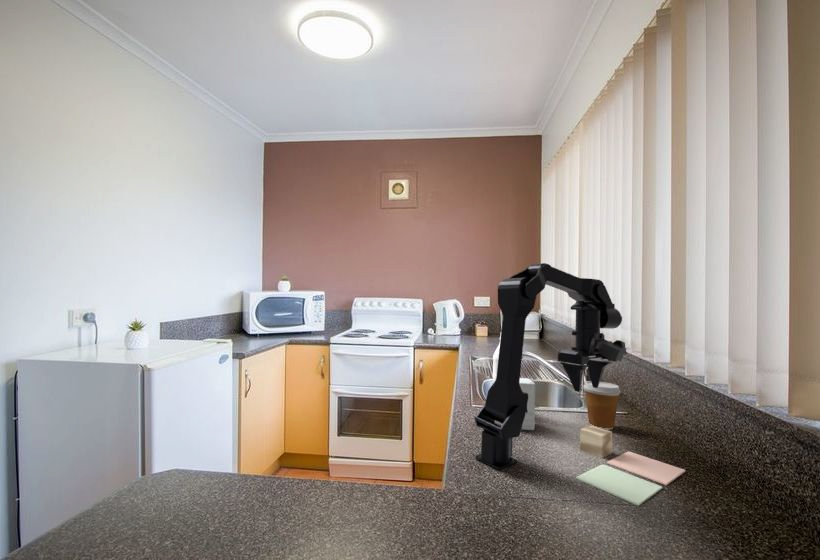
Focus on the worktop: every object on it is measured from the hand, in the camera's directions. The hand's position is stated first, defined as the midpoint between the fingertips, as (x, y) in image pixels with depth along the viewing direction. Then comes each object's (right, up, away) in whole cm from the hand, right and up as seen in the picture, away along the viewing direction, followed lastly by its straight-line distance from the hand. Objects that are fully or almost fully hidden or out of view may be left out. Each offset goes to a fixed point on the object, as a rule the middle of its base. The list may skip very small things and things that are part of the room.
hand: (586, 389), depth 91 cm
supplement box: (-15, -13, +9) cm, 22 cm away
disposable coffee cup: (+10, -14, +11) cm, 21 cm away
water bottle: (-16, -14, +21) cm, 29 cm away
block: (-1, -13, -7) cm, 14 cm away
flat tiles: (0, -12, -18) cm, 22 cm away
